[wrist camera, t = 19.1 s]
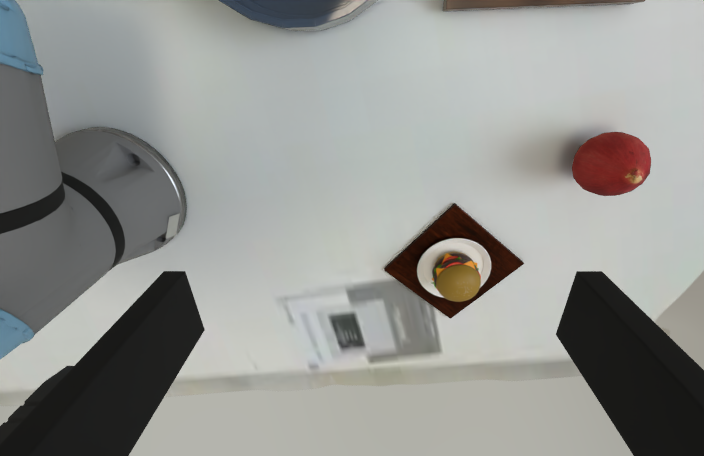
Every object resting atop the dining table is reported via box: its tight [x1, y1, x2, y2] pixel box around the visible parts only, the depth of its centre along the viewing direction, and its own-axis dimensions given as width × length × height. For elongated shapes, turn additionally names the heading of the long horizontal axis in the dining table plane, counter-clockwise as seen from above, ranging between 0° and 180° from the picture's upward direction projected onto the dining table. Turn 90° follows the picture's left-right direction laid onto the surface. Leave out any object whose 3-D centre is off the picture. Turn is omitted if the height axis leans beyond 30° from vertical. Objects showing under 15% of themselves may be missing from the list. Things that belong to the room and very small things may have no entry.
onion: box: [572, 132, 651, 196], centre depth 31 cm, size 6×6×8 cm
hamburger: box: [384, 203, 524, 318], centre depth 40 cm, size 12×12×6 cm
